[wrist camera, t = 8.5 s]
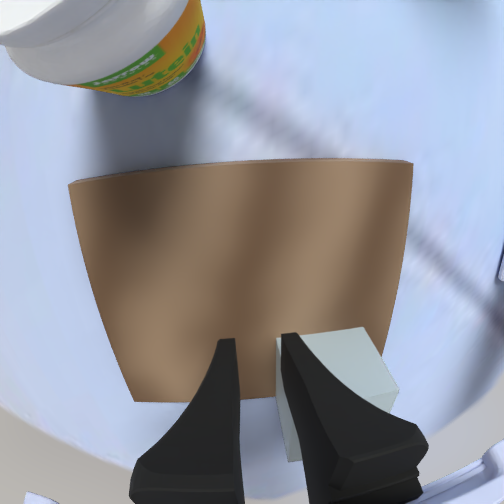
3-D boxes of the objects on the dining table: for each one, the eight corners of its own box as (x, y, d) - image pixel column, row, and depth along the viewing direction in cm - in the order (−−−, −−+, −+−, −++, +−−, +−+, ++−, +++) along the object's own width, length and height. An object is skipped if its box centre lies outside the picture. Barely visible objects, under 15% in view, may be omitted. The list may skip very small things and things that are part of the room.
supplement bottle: (140, 122, 12) (-1, 139, 4) (71, 52, 11) (-82, 15, 2) (232, 40, 11) (250, -90, 2) (156, -26, 9) (87, -153, 1)
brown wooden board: (403, 160, 14) (413, 163, 13) (369, 370, 20) (375, 379, 19) (77, 180, 13) (67, 184, 12) (137, 390, 19) (134, 401, 18)
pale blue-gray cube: (363, 326, 17) (399, 389, 12) (350, 385, 19) (375, 444, 14) (276, 338, 16) (293, 410, 12) (275, 396, 18) (288, 462, 14)
